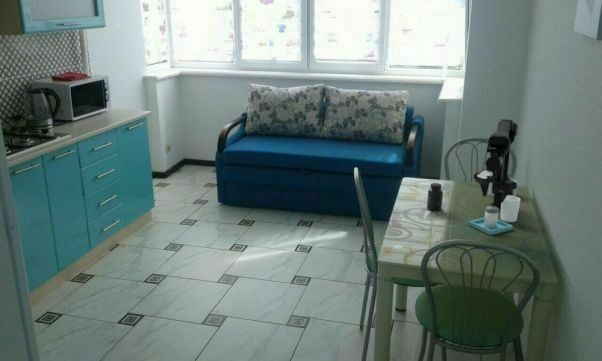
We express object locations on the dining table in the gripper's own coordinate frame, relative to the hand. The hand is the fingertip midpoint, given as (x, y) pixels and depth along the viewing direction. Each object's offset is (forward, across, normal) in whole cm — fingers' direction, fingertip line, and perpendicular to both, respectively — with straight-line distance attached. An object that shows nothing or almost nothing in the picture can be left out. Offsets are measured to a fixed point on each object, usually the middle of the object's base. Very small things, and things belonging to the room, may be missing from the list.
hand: (492, 199), depth 234 cm
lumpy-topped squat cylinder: (+13, -28, +38) cm, 49 cm away
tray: (+12, 0, 0) cm, 12 cm away
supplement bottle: (+13, -28, -6) cm, 32 cm away
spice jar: (+12, 0, 0) cm, 12 cm away
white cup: (+13, -2, +14) cm, 19 cm away
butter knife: (+13, -20, -19) cm, 31 cm away
